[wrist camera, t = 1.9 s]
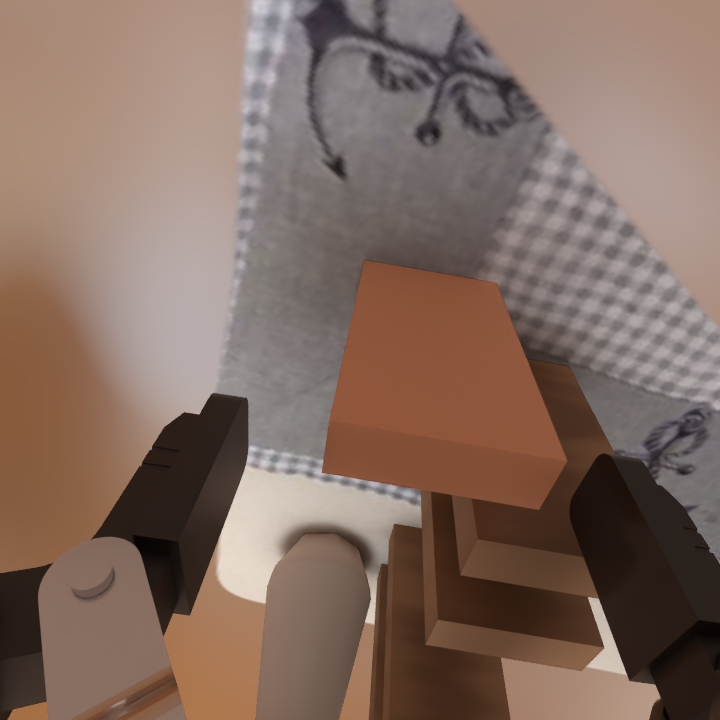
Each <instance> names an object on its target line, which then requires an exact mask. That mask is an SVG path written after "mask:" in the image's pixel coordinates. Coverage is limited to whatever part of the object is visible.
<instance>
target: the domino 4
mask: <svg viewBox="0 0 720 720" xmlns="http://www.w3.org/2000/svg"><path fill="white" fill-rule="evenodd" d="M421 512H422V546H423V579H424V612H425V645H430V646H436V647H442V648H448V649H454V650H460V651H466V652H472V653H478V654H483V655H489V656H495V657H501V658H507V659H514V660H519V661H525V662H532V663H537V664H543V665H549V666H555V667H561V668H567V669H573V670H579V671H582V670H583V669H584V668H585V667H586V666H587V665H588V664H589V663H590V662H591V661H592V660H593V659H594V658H595V657H596V656H597V655H598V654H599V653H600V652H601V651H602V650H603V649H604V645H603V642H602V639H601V636H600V633H599V630H598V627H597V624H596V621H595V618H594V615H593V612H592V609H591V606H590V603H589V600H588V597H587V596H581V595H575V594H569V593H563V592H557V591H551V590H545V589H539V588H533V587H527V586H522V585H516V584H510V583H504V582H498V581H492V580H486V579H480V578H474V577H468V576H463V575H460V570H459V560H458V550H457V540H456V530H455V520H454V511H453V501H452V495H450V494H444V493H438V492H432V491H426V490H421Z"/></svg>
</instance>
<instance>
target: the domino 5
mask: <svg viewBox="0 0 720 720" xmlns="http://www.w3.org/2000/svg"><path fill="white" fill-rule="evenodd" d="M527 361H528V363H529V366H530V368H531V371H532V374H533V376H534V379H535V381H536V384H537V386H538V389H539V391H540V394H541V396H542V399H543V401H544V404H545V406H546V409H547V411H548V414H549V416H550V419H551V421H552V424H553V426H554V429H555V431H556V434H557V436H558V439H559V441H560V444H561V446H562V449H563V451H564V454H565V456H566V459H567V463H566V465H565V466H564V468H563V470H562V471H561V473H560V475H559V477H558V478H557V480H556V482H555V483H554V485H553V487H552V488H551V490H550V492H549V494H548V495H547V497H546V499H545V500H544V502H543V504H542V505H541V507H540V509H539V510H537V509H531V508H525V507H520V506H514V505H508V504H502V503H496V502H490V501H485V500H479V499H473V498H467V497H461V496H456V495H452V501H453V511H454V520H455V530H456V540H457V550H458V560H459V570H460V575H463V576H468V577H474V578H480V579H486V580H492V581H498V582H504V583H510V584H516V585H522V586H527V587H533V588H539V589H545V590H551V591H557V592H563V593H569V594H575V595H581V596H587V597H592V598H598V599H599V597H598V595H597V592H596V589H595V587H594V584H593V581H592V579H591V576H590V573H589V570H588V568H587V565H586V562H585V560H584V557H583V554H582V552H581V549H580V546H579V543H578V541H577V538H576V535H575V533H574V530H573V527H572V524H571V521H570V514H569V509H570V502H571V499H572V496H573V494H574V493H575V491H576V490H577V488H578V486H579V485H580V483H581V481H582V480H583V478H584V477H585V475H586V473H587V472H588V470H589V469H590V467H591V465H592V464H593V462H594V461H595V459H596V458H597V457H598V456H599V455H600V454H611V455H615V453H614V451H613V449H612V447H611V445H610V443H609V441H608V440H607V438H606V436H605V434H604V432H603V430H602V428H601V426H600V424H599V423H598V421H597V419H596V417H595V415H594V413H593V411H592V409H591V407H590V405H589V404H588V402H587V400H586V398H585V396H584V394H583V392H582V390H581V388H580V387H579V385H578V383H577V381H576V379H575V377H574V375H573V373H572V371H571V369H570V368H569V366H564V365H558V364H553V363H547V362H541V361H535V360H530V359H527Z"/></svg>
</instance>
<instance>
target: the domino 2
mask: <svg viewBox="0 0 720 720" xmlns="http://www.w3.org/2000/svg"><path fill="white" fill-rule="evenodd" d="M383 720H510V714H509V708H508V701H507V695H506V689H505V682H504V676H503V669H502V663H501V657H495V656H489V655H483V654H478V653H472V652H466V651H460V650H454V649H448V648H442V647H436V646H430V645H425V612H424V579H423V546H422V529H420V528H414V527H408V526H402V525H396V524H394V527H393V530H392V533H391V536H390V540H389V556H388V583H387V611H386V638H385V665H384V693H383Z"/></svg>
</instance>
